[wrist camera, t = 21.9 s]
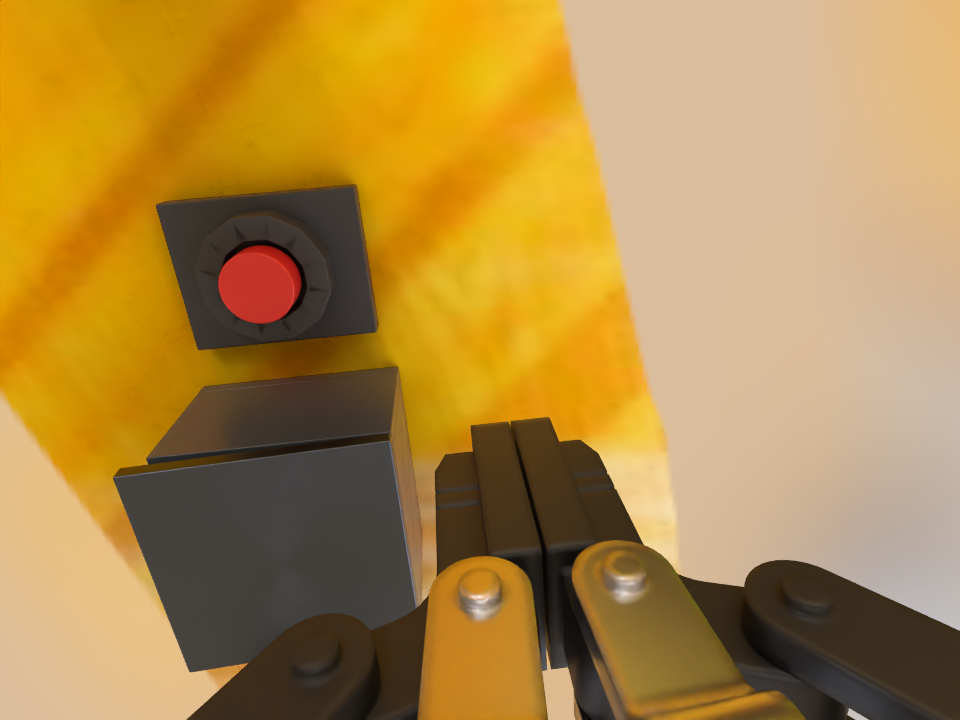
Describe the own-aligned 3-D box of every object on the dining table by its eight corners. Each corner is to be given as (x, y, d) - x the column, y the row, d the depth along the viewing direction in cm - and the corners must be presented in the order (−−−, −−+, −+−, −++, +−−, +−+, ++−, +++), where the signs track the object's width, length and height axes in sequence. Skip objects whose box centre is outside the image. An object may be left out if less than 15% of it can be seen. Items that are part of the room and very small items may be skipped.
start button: (220, 248, 29) (209, 256, 27) (293, 241, 29) (286, 248, 28) (238, 316, 30) (228, 327, 29) (307, 309, 31) (301, 320, 29)
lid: (193, 660, 32) (189, 673, 31) (119, 467, 27) (111, 477, 26) (421, 623, 33) (421, 635, 32) (390, 431, 28) (390, 440, 27)
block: (164, 201, 30) (138, 210, 28) (356, 184, 31) (349, 191, 28) (204, 342, 34) (185, 363, 31) (378, 325, 34) (374, 344, 31)
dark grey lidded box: (252, 551, 40) (214, 648, 33) (203, 386, 35) (145, 458, 28) (422, 531, 40) (421, 623, 33) (398, 366, 35) (391, 431, 28)
